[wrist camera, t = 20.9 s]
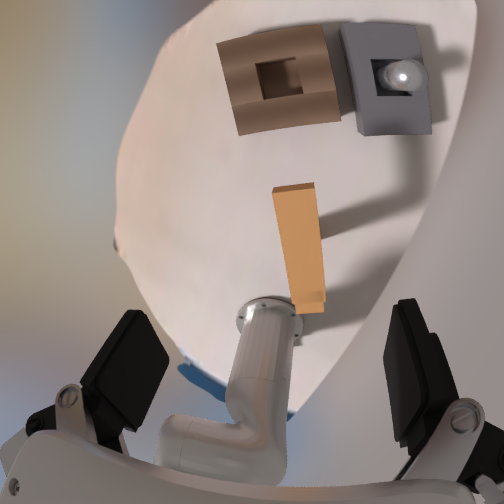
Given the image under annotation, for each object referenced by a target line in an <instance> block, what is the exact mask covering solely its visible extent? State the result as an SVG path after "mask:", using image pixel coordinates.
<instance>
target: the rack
mask: <svg viewBox="0 0 504 504" xmlns="http://www.w3.org/2000/svg"><path fill="white" fill-rule="evenodd" d="M338 31H339V35H340V39H341V43H342V47H343V51H344V55H345V60H346V64H347V69H348V74H349V79H350V84H351V90H352V95H353V101H354V108H355V114H356V121H357V128H358V132H359V133H361V134H362V135H363V136H378V135H405V134H432V127H431V114H430V105H429V96H428V89H427V86H426V87H425V88H424V89H423V90H420V91H396V90H382V89H380V88H379V87H377V86H376V84H375V80H374V75H373V72H374V71H375V69H377V68H378V67H381V66H384V65H388V64H391V63H394V62H398V61H401V60H405V59H414V60H417V61H418V62H420V63H421V64H422V65H423V66H424V64H423V59H422V54H421V49H420V45H419V41H418V37H417V33H416V29H415V26H414V25H404V24H391V23H342V25H341V27H340V28H339V30H338Z"/></svg>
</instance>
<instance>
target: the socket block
mask: <svg viewBox="0 0 504 504" xmlns="http://www.w3.org/2000/svg"><path fill="white" fill-rule="evenodd" d="M216 44H217V48H218V52H219V56H220V60H221V64H222V68H223V72H224V76H225V81H226V85H227V89H228V93H229V97H230V101H231V105H232V109H233V113H234V118H235V122H236V126H237V130H238V134H239V136H241V135H246V134H252V133H257V132H263V131H269V130H275V129H281V128H288V127H295V126H302V125H310V124H318V123H328V122H338V121H341V115H340V109H339V103H338V98H337V92H336V87H335V82H334V77H333V72H332V67H331V63H330V58H329V54H328V50H327V46H326V42H325V38H324V34H323V30H322V26H321V24H320V25H309V26H300V27H292V28H285V29H279V30H273V31H268V32H262V33H257V34H253V35H248V36H244V37H239V38H235V39H231V40H227V41H224V42H220V43H216Z"/></svg>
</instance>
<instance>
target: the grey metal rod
mask: <svg viewBox="0 0 504 504" xmlns="http://www.w3.org/2000/svg"><path fill="white" fill-rule="evenodd" d="M373 75H374V80H375V84H376V86H377V87H379V88H380V89H382V90H396V91H420V90H423V89H424V88H425V87H426V86H427V83H428V73H427V71H426V69H425V67H424V66H423V65H422V64H421V63H420V62H418V61H417V60H414V59H405V60H401V61H398V62H394V63H391V64H388V65H384V66H381V67H378V68H377V69H375V71H374V72H373Z"/></svg>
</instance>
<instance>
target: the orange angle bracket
mask: <svg viewBox="0 0 504 504" xmlns="http://www.w3.org/2000/svg"><path fill="white" fill-rule="evenodd" d="M272 197H273V202H274V207H275V212H276V217H277V222H278V227H279V233H280V238H281V243H282V249H283V254H284V260H285V265H286V271H287V276H288V282H289V288H290V294H291V300H292V304H295V309H296V314H306V313H320V312H324V302H326V294H325V280H324V268H323V256H322V246H321V236H320V227H319V219H318V210H317V202H316V195H315V188H314V182H313V183H305V184H297V185H289V186H281V187H274V188H273V191H272Z"/></svg>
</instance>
